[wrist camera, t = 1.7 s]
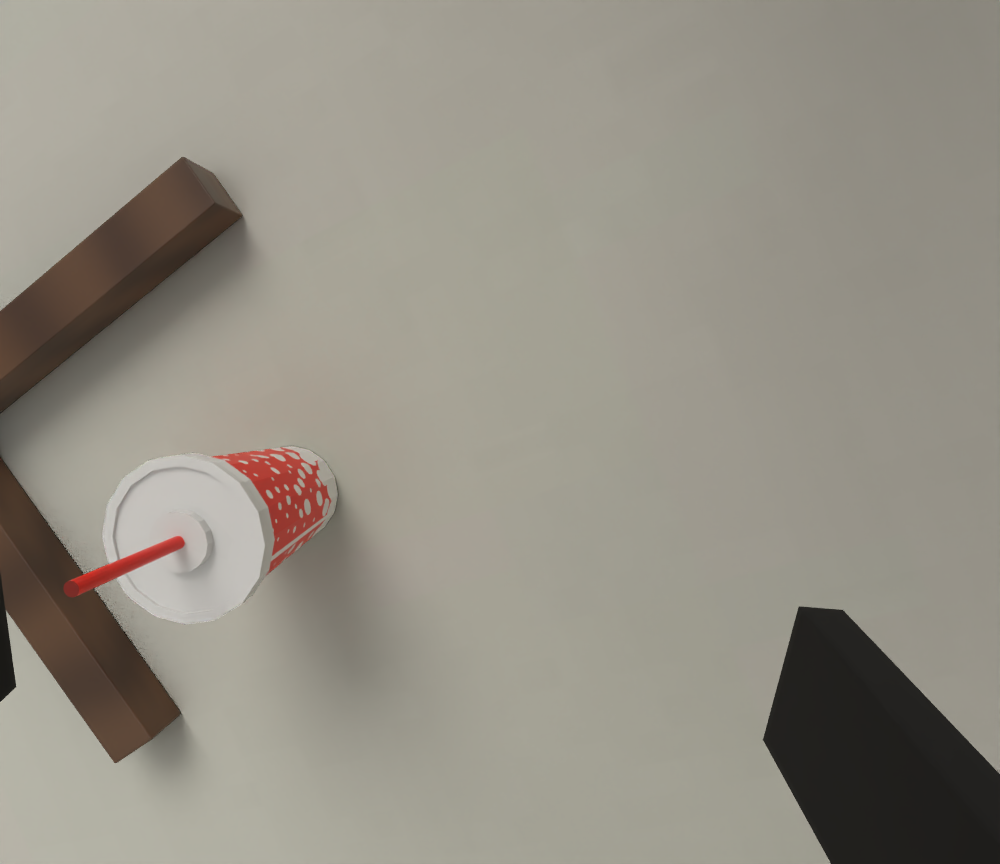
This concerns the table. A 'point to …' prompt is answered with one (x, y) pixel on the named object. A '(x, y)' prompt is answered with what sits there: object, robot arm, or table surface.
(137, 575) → the beverage cup
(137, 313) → the table surface
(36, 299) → the bracket
